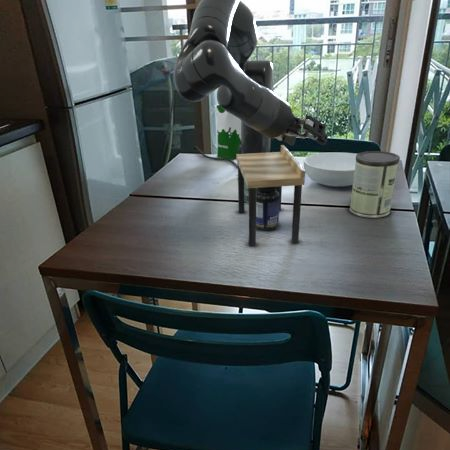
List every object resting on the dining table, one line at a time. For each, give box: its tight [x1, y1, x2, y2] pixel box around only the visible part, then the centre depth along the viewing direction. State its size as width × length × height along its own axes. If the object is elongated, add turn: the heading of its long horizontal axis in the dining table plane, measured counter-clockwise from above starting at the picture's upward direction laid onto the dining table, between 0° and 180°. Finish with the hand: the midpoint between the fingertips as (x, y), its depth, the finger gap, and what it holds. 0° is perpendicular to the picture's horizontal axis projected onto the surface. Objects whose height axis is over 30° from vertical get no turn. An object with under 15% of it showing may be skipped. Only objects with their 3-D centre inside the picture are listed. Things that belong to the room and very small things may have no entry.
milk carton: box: [213, 103, 241, 161], centre depth 160 cm, size 9×9×20 cm
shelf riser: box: [235, 144, 306, 247], centre depth 104 cm, size 22×12×17 cm, turn 5°
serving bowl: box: [303, 151, 358, 188], centre depth 133 cm, size 21×21×7 cm
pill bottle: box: [256, 187, 280, 231], centre depth 106 cm, size 6×6×11 cm
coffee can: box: [349, 150, 401, 219], centre depth 111 cm, size 10×10×14 cm
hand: (309, 140), depth 98 cm, fingers open, 8 cm apart
